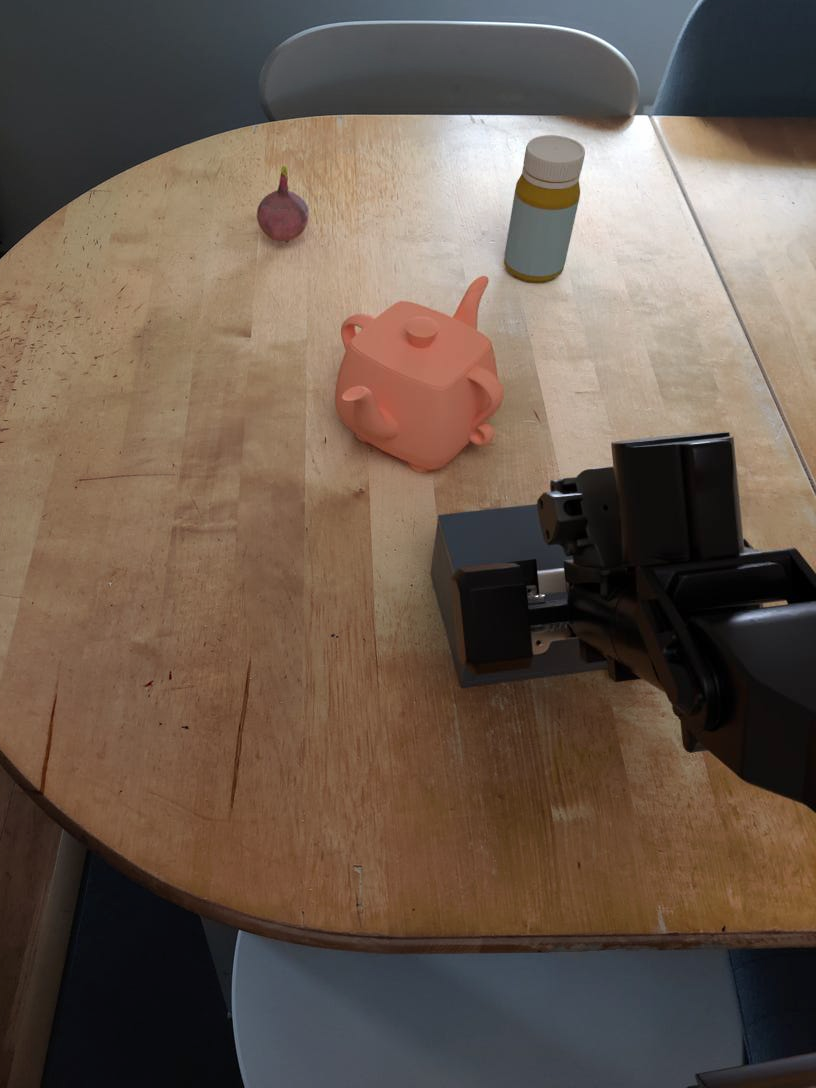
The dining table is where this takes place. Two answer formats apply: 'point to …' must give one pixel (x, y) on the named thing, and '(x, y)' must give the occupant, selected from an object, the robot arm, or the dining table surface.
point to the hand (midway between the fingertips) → (558, 582)
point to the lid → (505, 544)
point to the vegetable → (282, 212)
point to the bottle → (544, 208)
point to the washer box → (554, 662)
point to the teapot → (419, 380)
